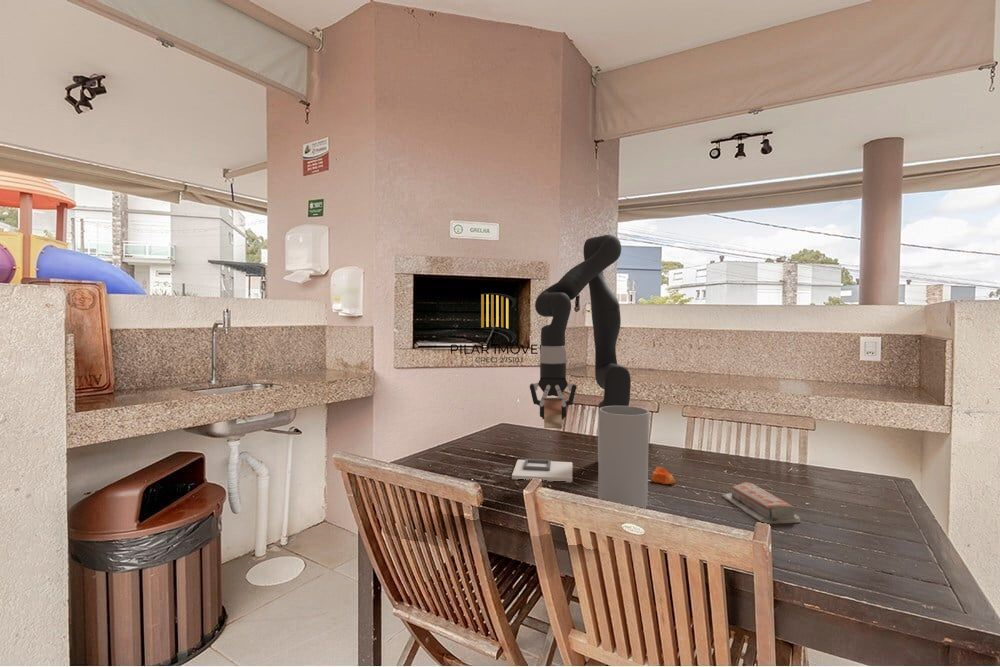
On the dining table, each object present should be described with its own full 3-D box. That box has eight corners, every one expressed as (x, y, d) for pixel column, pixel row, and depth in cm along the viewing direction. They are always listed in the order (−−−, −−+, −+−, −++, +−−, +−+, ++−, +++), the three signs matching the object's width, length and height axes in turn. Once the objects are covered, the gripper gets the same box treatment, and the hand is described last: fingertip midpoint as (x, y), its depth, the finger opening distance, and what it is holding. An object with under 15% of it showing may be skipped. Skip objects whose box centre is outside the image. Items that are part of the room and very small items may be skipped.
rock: (675, 494, 139) (675, 479, 139) (634, 484, 147) (634, 470, 147) (690, 483, 149) (690, 469, 148) (651, 474, 156) (651, 460, 156)
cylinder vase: (605, 493, 138) (607, 404, 137) (651, 501, 132) (653, 408, 131) (591, 508, 127) (593, 412, 126) (641, 518, 121) (643, 417, 120)
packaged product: (803, 504, 119) (764, 506, 118) (802, 524, 120) (764, 526, 118) (755, 479, 137) (721, 480, 136) (755, 496, 137) (721, 498, 136)
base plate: (572, 465, 162) (572, 459, 162) (572, 482, 146) (572, 475, 146) (517, 463, 165) (517, 456, 165) (511, 479, 149) (511, 471, 149)
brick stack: (561, 424, 148) (561, 397, 147) (561, 428, 143) (561, 401, 142) (544, 424, 148) (544, 397, 148) (544, 428, 143) (544, 400, 143)
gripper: (577, 360, 147) (577, 416, 148) (529, 359, 149) (529, 415, 150) (578, 362, 140) (578, 422, 141) (527, 362, 142) (527, 421, 142)
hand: (552, 418), depth 145 cm, fingers closed on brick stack, 5 cm apart
